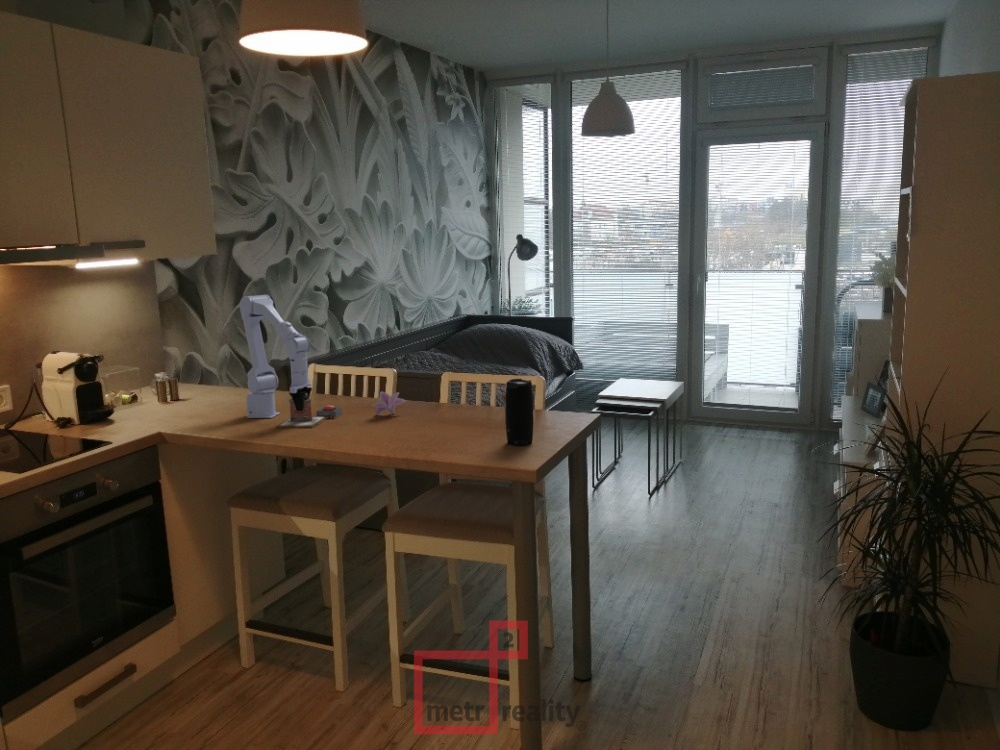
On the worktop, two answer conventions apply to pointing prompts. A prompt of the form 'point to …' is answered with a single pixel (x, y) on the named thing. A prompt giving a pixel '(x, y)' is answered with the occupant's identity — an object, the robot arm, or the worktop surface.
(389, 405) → the lily
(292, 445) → the worktop surface
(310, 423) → the board
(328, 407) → the button
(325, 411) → the button housing
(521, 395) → the portable speaker
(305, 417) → the lighter
